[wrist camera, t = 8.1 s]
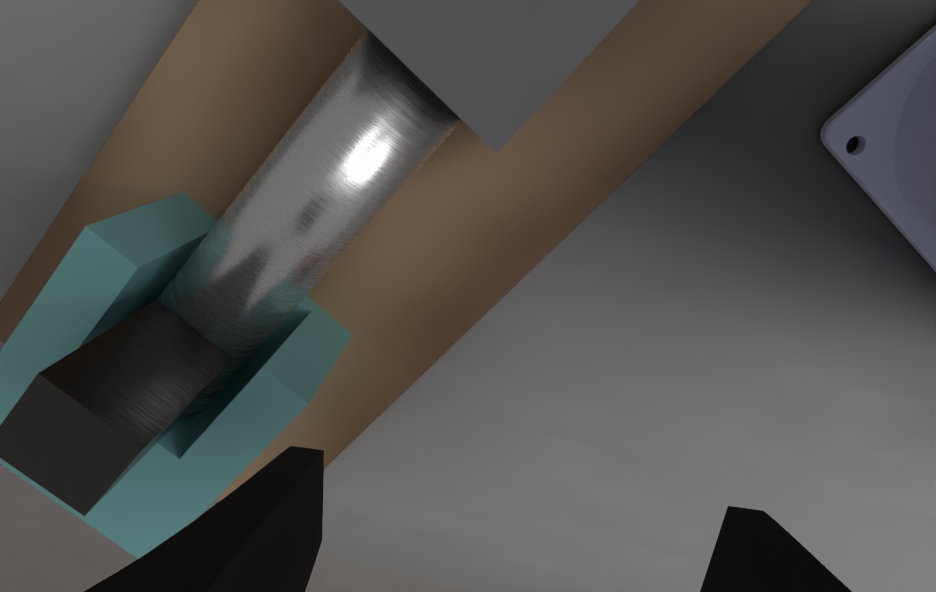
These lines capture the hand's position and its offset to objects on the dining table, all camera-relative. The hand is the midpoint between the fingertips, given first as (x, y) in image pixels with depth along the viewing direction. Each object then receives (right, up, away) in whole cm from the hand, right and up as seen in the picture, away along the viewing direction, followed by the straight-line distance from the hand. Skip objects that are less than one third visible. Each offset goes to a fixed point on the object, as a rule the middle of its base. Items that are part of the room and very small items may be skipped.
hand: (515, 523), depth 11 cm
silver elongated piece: (-5, +7, +6) cm, 11 cm away
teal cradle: (-10, +2, +9) cm, 14 cm away
